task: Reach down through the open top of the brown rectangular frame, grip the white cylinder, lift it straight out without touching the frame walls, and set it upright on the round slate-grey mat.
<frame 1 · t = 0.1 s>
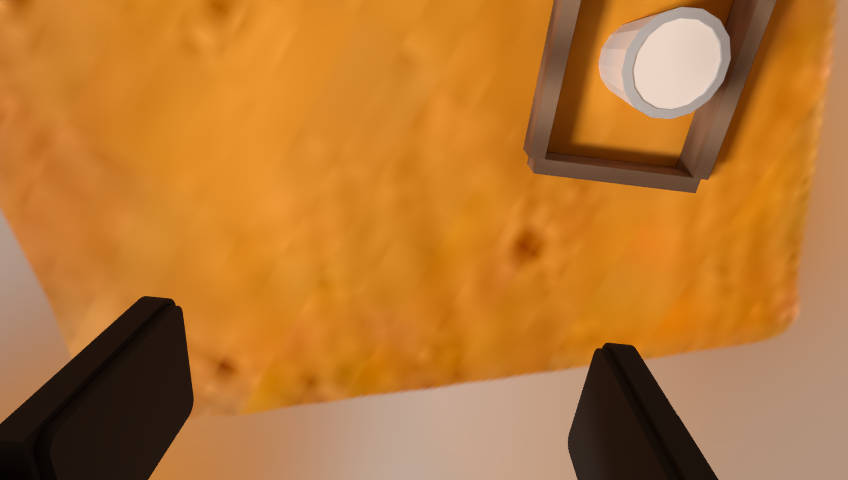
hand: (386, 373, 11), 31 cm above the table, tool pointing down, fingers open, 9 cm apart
brown rectangular frame: (635, 59, 37), on the table
white cylinder: (634, 59, 37), resting in brown rectangular frame
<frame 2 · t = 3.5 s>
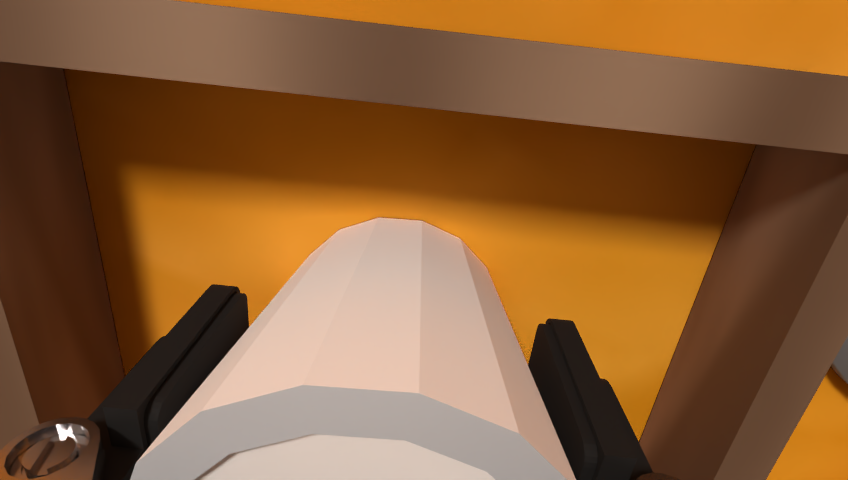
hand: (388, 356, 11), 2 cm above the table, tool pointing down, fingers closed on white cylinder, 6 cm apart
brown rectangular frame: (395, 311, 13), on the table
white cylinder: (396, 307, 13), resting in brown rectangular frame, touching gripper
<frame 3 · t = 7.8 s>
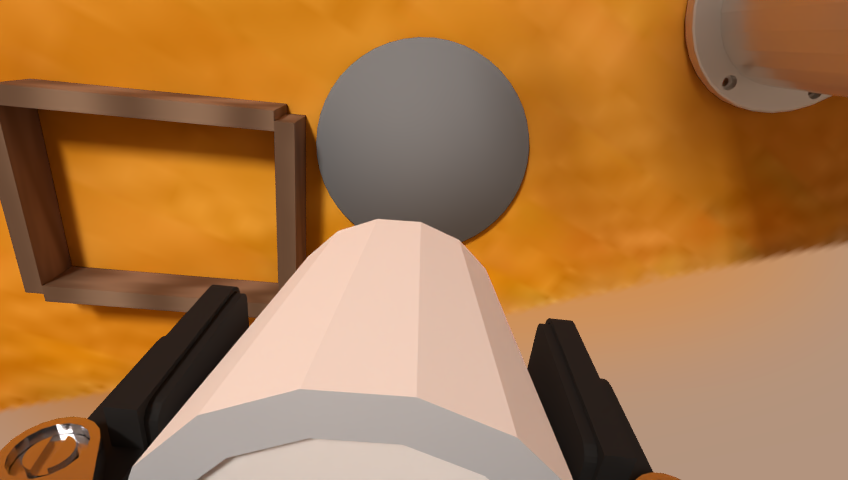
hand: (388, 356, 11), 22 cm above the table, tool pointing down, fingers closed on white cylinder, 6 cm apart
brown rectangular frame: (172, 199, 33), on the table
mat: (422, 151, 31), on the table
white cylinder: (395, 308, 13), point 20 cm above the table, touching gripper
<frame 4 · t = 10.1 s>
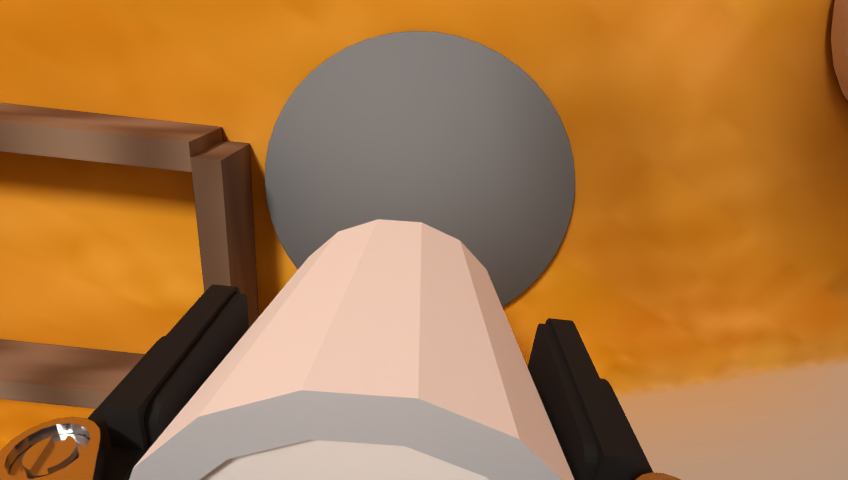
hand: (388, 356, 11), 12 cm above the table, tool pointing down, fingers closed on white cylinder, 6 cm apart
brown rectangular frame: (74, 253, 24), on the table
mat: (418, 196, 22), on the table
white cylinder: (395, 309, 13), point 10 cm above the table, touching gripper
when the fingers open (4 cm above the table, at t = 12.2 s): white cylinder drops 1 cm, resting on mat.
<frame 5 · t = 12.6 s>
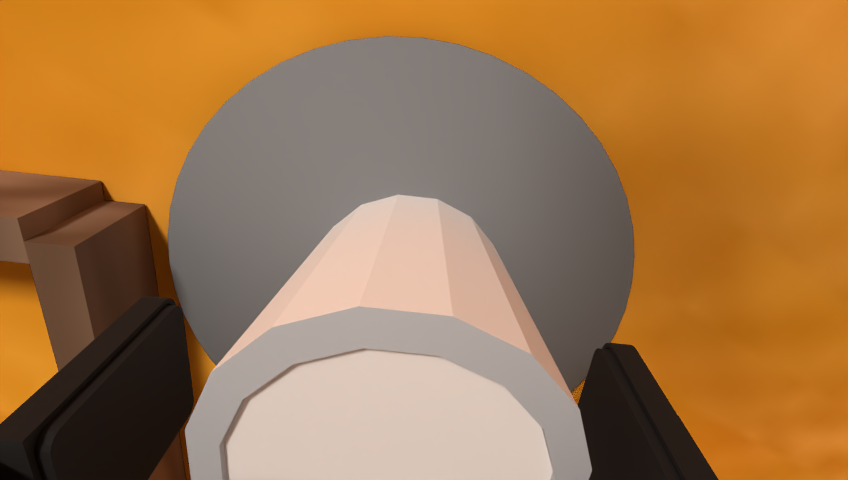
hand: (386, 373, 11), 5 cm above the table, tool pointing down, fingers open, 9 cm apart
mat: (400, 278, 15), on the table
white cylinder: (408, 279, 14), resting on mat
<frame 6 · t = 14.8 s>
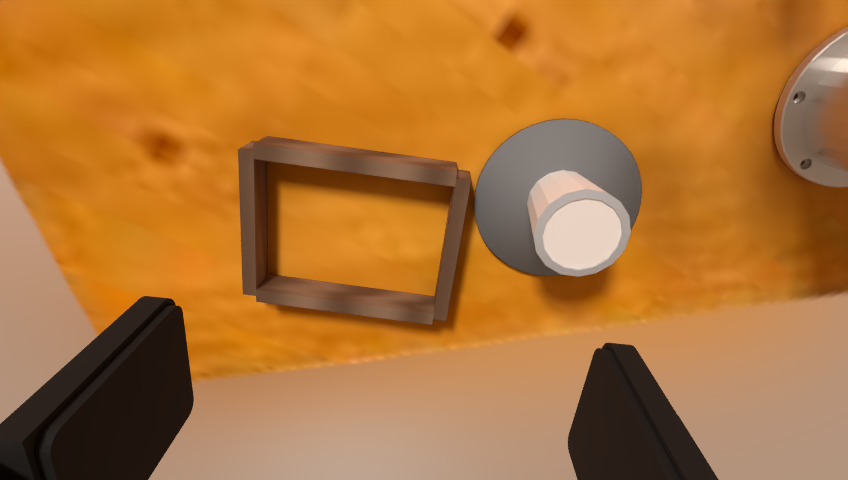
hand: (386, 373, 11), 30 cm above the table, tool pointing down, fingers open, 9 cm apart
brown rectangular frame: (355, 227, 42), on the table
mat: (555, 201, 40), on the table
white cylinder: (559, 201, 40), resting on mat
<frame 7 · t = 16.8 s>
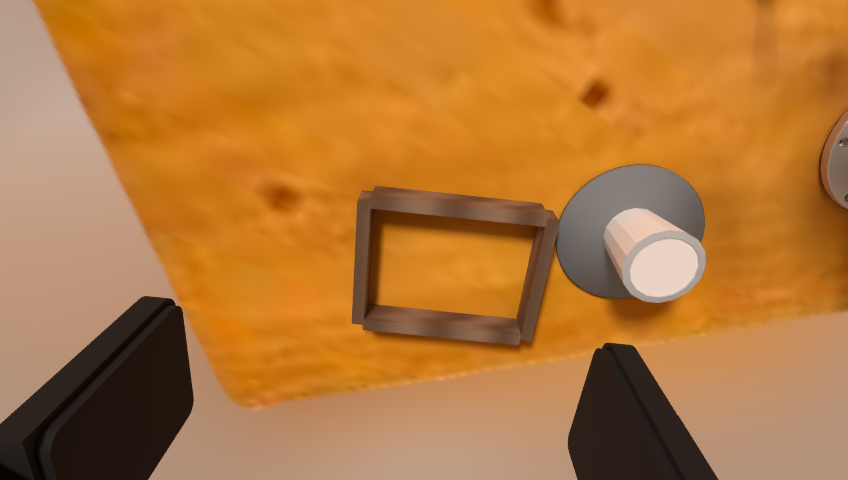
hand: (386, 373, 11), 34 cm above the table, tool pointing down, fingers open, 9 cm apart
brown rectangular frame: (449, 261, 48), on the table
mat: (627, 234, 46), on the table
white cylinder: (632, 234, 46), resting on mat
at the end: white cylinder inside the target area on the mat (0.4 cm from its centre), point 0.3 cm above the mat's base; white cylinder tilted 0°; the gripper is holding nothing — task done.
